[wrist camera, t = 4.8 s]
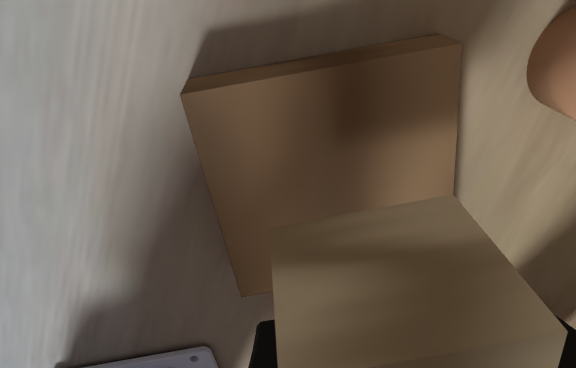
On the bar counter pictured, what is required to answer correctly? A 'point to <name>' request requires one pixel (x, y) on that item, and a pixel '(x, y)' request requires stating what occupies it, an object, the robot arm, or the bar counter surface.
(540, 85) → the brown rounded piece
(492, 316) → the block
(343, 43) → the bar counter surface
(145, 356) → the robot arm
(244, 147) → the board
